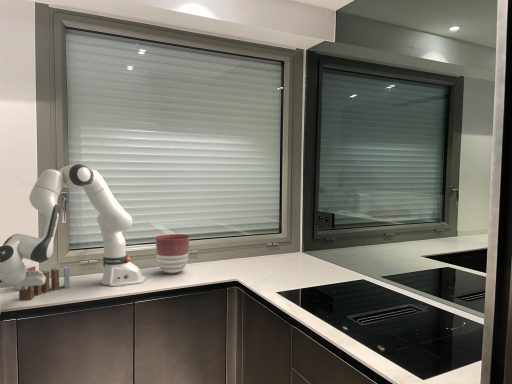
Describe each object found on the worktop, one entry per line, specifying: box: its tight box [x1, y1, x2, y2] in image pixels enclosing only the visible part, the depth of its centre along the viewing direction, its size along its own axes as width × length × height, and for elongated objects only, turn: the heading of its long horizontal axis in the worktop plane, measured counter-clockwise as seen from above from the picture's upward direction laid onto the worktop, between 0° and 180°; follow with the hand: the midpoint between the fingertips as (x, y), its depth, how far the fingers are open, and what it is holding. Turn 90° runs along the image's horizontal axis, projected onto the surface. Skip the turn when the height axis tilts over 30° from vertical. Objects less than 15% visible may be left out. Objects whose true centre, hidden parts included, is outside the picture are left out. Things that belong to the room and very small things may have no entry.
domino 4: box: [50, 267, 60, 291], centre depth 190 cm, size 2×5×10 cm, turn 48°
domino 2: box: [34, 285, 42, 297], centre depth 180 cm, size 2×5×10 cm, turn 81°
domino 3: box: [40, 270, 51, 294], centre depth 185 cm, size 2×5×10 cm, turn 64°
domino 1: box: [18, 286, 35, 301], centre depth 174 cm, size 3×5×10 cm, turn 96°
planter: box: [155, 233, 190, 274], centre depth 221 cm, size 20×20×21 cm
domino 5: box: [63, 265, 71, 289], centre depth 193 cm, size 2×5×10 cm, turn 33°
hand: (23, 288), depth 170 cm, fingers closed
